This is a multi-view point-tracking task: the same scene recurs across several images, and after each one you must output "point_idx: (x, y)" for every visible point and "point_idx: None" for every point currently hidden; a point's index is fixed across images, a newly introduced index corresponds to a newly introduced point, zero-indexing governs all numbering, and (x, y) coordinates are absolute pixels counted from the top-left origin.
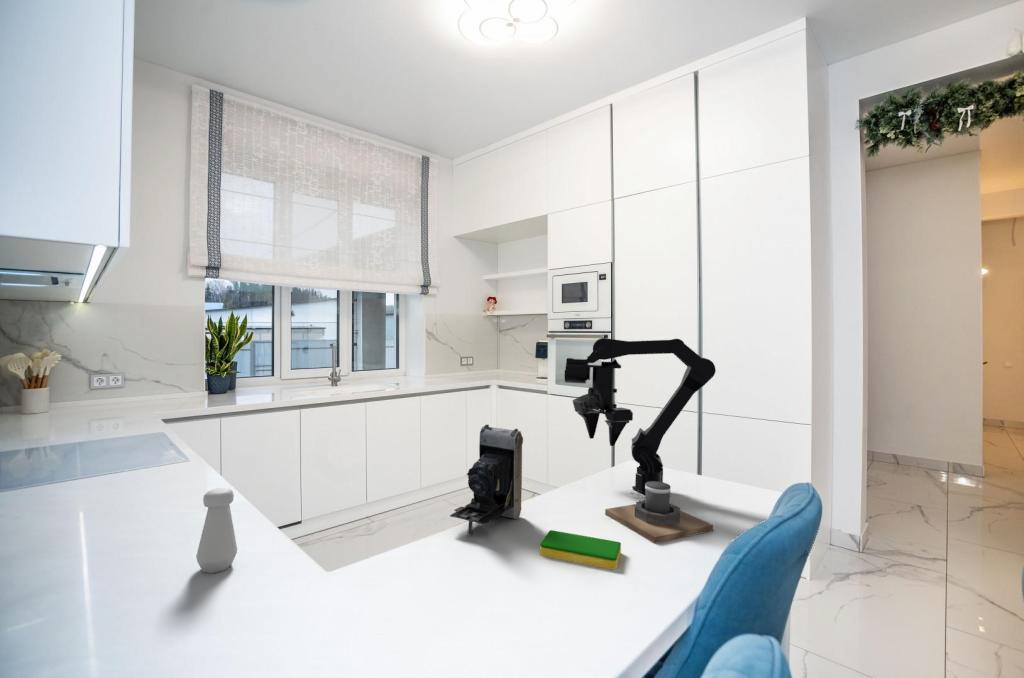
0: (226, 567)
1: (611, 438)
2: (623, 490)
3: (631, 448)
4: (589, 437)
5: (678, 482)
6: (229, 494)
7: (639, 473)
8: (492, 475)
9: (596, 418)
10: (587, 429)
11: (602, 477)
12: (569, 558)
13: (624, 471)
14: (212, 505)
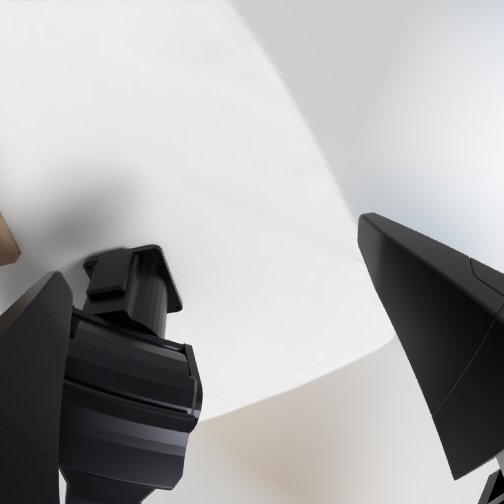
0: None
1: (2, 314)
2: (144, 207)
3: (149, 369)
4: (375, 213)
5: (207, 369)
6: None
7: (111, 296)
8: None
9: (447, 419)
10: (433, 243)
11: (314, 198)
12: None
13: (344, 294)
14: None
